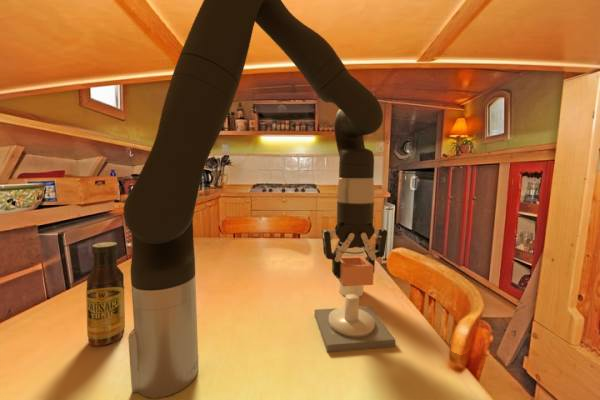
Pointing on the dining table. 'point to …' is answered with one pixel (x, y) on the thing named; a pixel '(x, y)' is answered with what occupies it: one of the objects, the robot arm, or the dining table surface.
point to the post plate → (352, 327)
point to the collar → (356, 271)
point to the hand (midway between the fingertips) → (353, 275)
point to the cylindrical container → (352, 289)
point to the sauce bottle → (105, 296)
